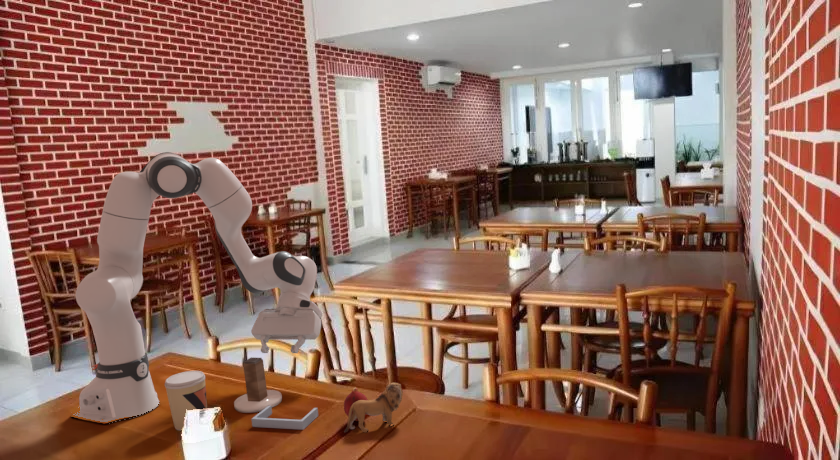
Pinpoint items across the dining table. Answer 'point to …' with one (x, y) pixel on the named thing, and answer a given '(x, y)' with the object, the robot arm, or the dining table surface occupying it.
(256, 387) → the brown rectangular block
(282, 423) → the grey u-shaped bracket
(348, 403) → the onion
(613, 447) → the dining table surface
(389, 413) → the lion figurine
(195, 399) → the coffee cup
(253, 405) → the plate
